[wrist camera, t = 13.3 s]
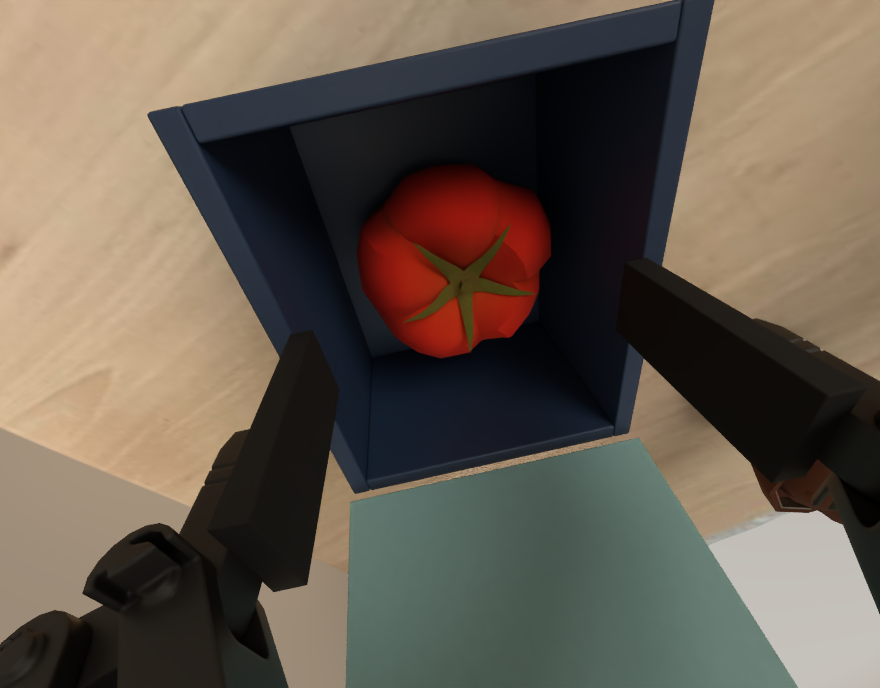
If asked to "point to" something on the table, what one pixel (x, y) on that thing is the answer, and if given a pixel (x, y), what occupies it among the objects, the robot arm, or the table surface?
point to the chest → (500, 155)
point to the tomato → (453, 258)
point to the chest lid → (546, 584)
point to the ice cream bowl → (798, 492)
